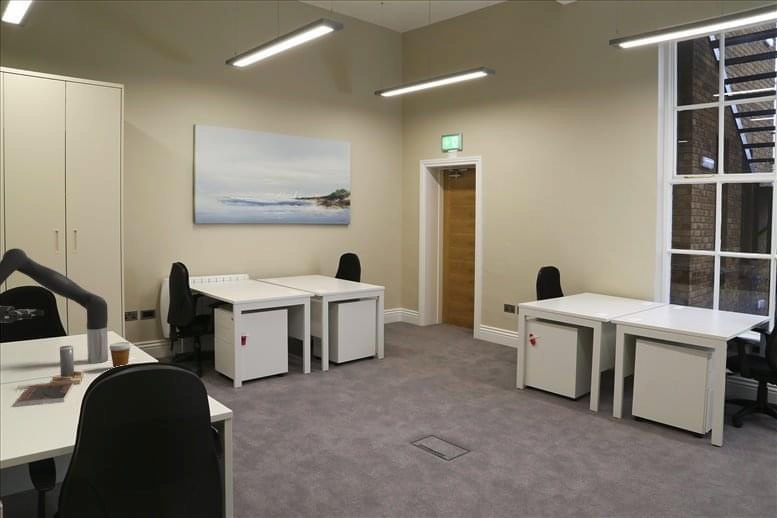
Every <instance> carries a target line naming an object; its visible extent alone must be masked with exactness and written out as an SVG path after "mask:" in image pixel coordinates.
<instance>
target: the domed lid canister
mask: <svg viewBox="0 0 777 518" xmlns="http://www.w3.org/2000/svg"><path fill="white" fill-rule="evenodd" d="M59 361H60V362H59V363H60V365H59V366H60V367H59V368H60V375H61V377H72V378H74V371H75V366H74V365H75V361H74V345H62V346H60V347H59Z"/></svg>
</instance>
